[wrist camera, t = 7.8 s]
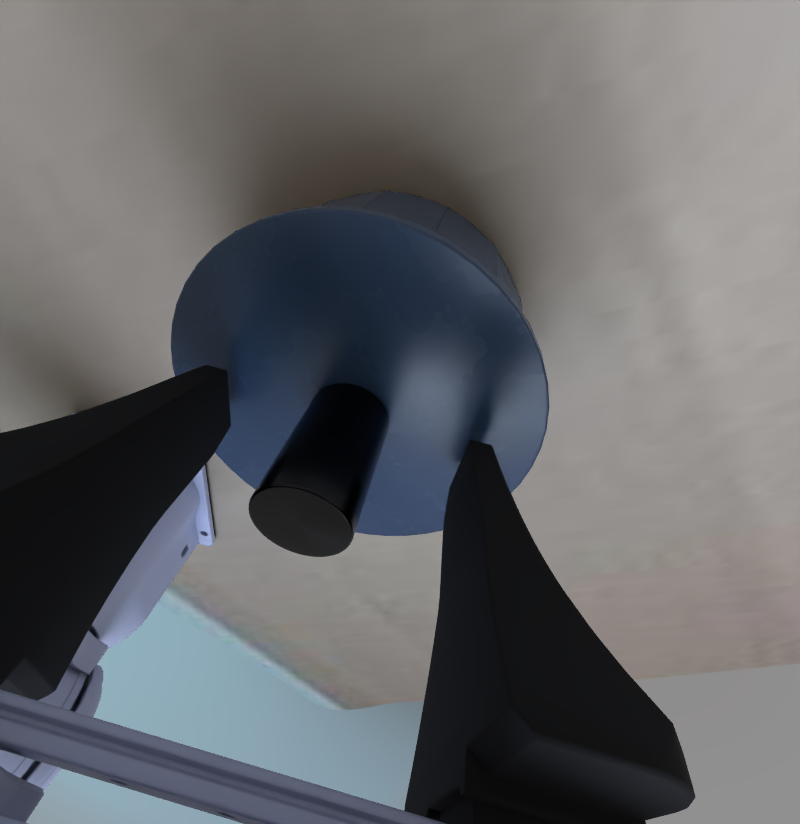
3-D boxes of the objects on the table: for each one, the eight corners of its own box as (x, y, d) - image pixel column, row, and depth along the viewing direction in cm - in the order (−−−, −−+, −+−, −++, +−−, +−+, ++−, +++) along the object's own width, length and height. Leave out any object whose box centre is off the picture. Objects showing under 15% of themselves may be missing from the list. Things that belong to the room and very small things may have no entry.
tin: (471, 454, 20) (466, 548, 15) (269, 397, 20) (208, 474, 16) (569, 236, 13) (605, 293, 9) (271, 156, 14) (170, 173, 9)
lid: (473, 543, 16) (467, 686, 12) (208, 467, 16) (115, 582, 12) (625, 271, 9) (728, 389, 5) (167, 145, 10) (-71, 168, 6)
